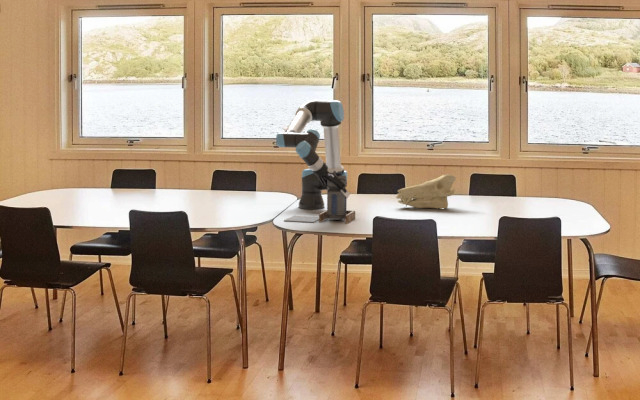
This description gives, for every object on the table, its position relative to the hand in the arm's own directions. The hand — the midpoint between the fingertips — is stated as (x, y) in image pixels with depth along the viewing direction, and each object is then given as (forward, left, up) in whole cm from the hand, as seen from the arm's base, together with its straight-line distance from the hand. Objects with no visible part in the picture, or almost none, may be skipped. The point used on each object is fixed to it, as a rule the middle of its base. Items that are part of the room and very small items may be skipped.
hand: (342, 194), depth 395 cm
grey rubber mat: (+7, -19, -13) cm, 24 cm away
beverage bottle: (+2, -2, -12) cm, 13 cm away
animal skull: (-61, +36, -13) cm, 72 cm away
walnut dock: (+2, -2, -13) cm, 13 cm away
